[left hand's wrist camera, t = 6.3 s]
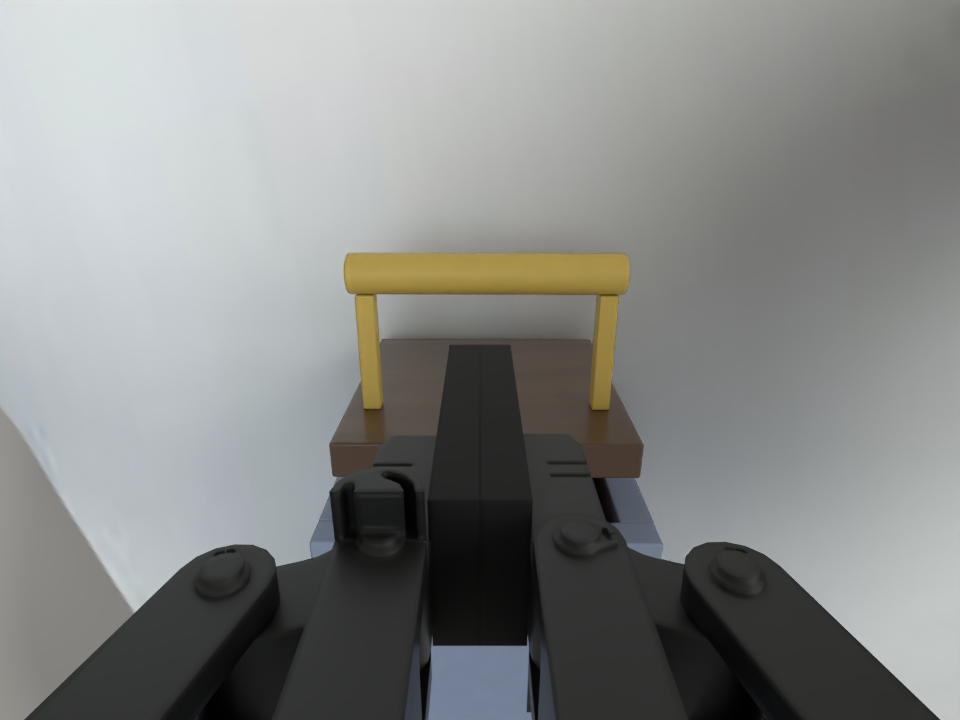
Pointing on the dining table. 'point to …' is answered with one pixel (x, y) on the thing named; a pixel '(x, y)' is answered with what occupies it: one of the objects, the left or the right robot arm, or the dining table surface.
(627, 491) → the cabinet
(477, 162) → the dining table surface
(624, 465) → the drawer
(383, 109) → the dining table surface
